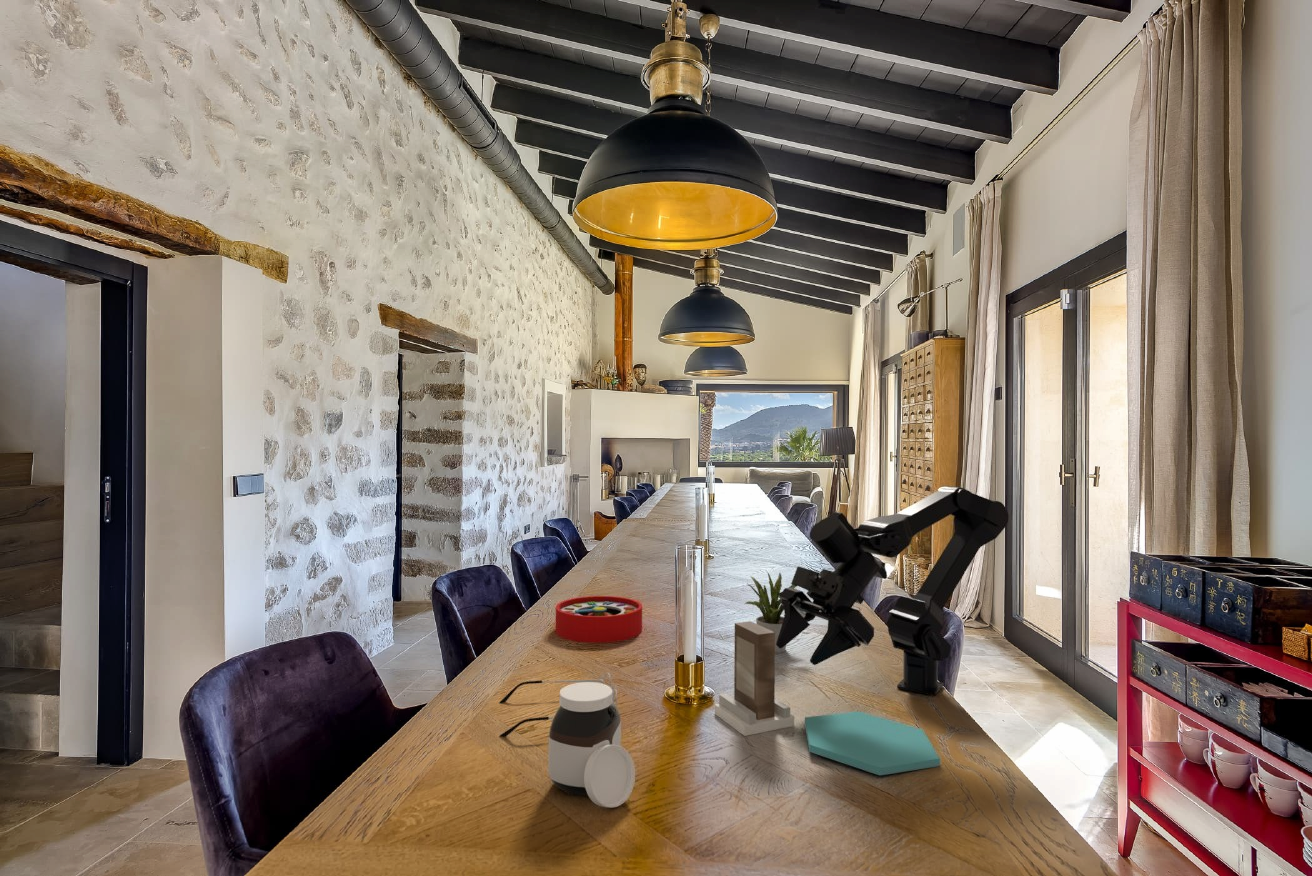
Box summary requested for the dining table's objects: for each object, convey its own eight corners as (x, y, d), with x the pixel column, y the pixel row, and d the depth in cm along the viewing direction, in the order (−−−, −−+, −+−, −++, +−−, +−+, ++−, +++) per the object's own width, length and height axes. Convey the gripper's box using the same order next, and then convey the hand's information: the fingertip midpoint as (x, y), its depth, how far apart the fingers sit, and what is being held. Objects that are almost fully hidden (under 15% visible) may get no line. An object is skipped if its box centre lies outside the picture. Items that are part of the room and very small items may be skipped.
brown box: (750, 700, 111) (750, 621, 111) (774, 716, 105) (774, 632, 105) (733, 703, 110) (733, 623, 110) (756, 720, 103) (757, 634, 103)
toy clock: (653, 612, 151) (565, 620, 145) (653, 639, 151) (565, 647, 145) (628, 593, 170) (548, 599, 164) (627, 616, 170) (548, 623, 164)
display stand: (762, 705, 113) (762, 687, 113) (794, 725, 105) (794, 706, 105) (714, 713, 110) (714, 695, 110) (744, 736, 101) (744, 715, 101)
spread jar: (577, 759, 94) (577, 674, 94) (653, 774, 90) (654, 686, 90) (530, 802, 83) (531, 706, 83) (615, 822, 78) (616, 720, 78)
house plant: (817, 662, 135) (817, 580, 135) (747, 661, 135) (747, 579, 135) (803, 641, 149) (803, 566, 149) (739, 640, 150) (740, 566, 150)
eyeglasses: (624, 732, 104) (625, 699, 104) (499, 743, 99) (499, 709, 99) (608, 693, 119) (608, 665, 119) (499, 702, 115) (499, 672, 115)
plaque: (883, 720, 110) (776, 733, 103) (884, 708, 110) (776, 720, 103) (968, 768, 94) (847, 787, 87) (968, 753, 94) (847, 771, 87)
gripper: (788, 541, 121) (734, 609, 117) (859, 558, 104) (800, 639, 100) (823, 582, 124) (772, 650, 120) (899, 605, 107) (843, 685, 103)
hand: (794, 654), depth 110 cm, fingers open, 9 cm apart
